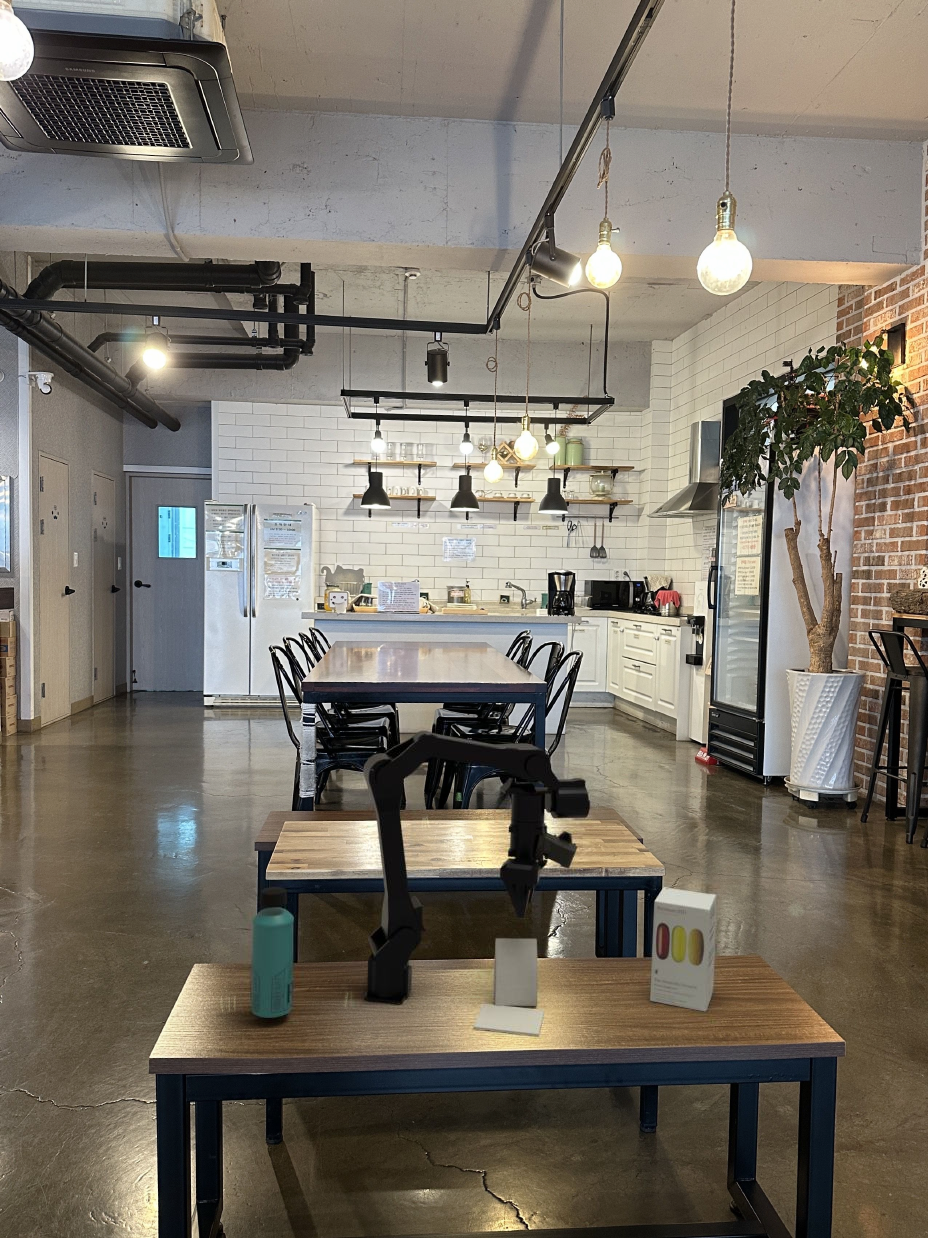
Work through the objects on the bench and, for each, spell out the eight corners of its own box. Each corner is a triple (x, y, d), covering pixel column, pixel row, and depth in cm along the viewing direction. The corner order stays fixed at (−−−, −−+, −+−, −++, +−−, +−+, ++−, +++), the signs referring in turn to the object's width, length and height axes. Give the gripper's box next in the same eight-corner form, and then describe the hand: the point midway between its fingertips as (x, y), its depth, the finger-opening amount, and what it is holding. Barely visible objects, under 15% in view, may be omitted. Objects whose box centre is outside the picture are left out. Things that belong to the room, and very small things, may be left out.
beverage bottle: (292, 1027, 138) (295, 895, 138) (247, 1029, 137) (251, 896, 137) (293, 1008, 145) (296, 882, 144) (250, 1010, 143) (253, 883, 143)
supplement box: (648, 1002, 151) (651, 900, 151) (658, 981, 160) (661, 885, 160) (708, 1013, 147) (711, 908, 147) (714, 991, 156) (717, 893, 156)
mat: (473, 1029, 139) (473, 1026, 139) (482, 1006, 148) (482, 1003, 148) (538, 1037, 137) (538, 1034, 137) (544, 1013, 146) (544, 1010, 146)
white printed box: (537, 1006, 147) (538, 941, 148) (495, 1005, 147) (496, 941, 148) (534, 999, 151) (535, 936, 152) (493, 999, 150) (494, 936, 152)
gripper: (569, 835, 145) (566, 933, 145) (579, 811, 164) (576, 898, 164) (500, 829, 148) (497, 926, 148) (517, 806, 166) (514, 892, 166)
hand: (524, 910), depth 156 cm, fingers open, 8 cm apart
